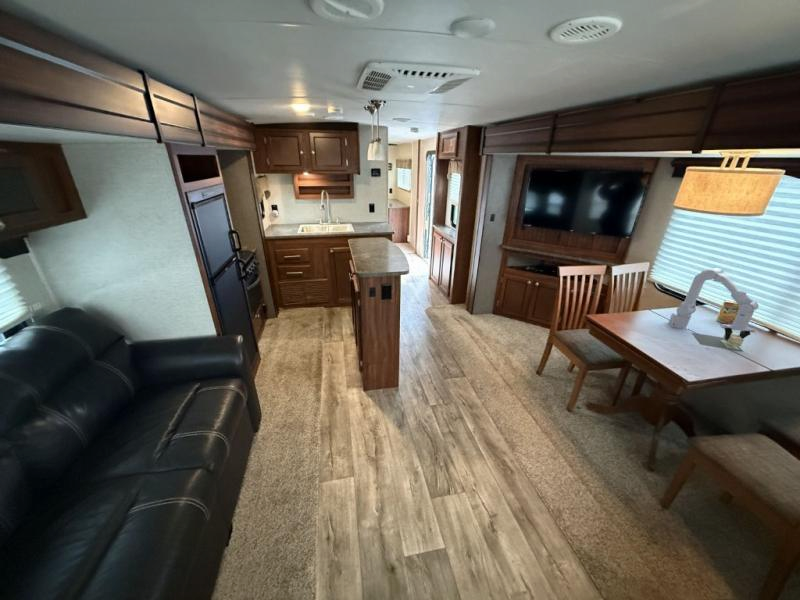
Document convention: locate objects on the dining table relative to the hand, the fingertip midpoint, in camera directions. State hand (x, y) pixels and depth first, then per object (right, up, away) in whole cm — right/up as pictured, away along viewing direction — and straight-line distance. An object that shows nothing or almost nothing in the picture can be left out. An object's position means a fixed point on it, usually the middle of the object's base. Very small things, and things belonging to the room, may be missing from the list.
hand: (732, 340), depth 186 cm
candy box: (+26, +9, +29) cm, 39 cm away
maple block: (0, -1, 0) cm, 1 cm away
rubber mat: (-5, -2, +5) cm, 7 cm away
